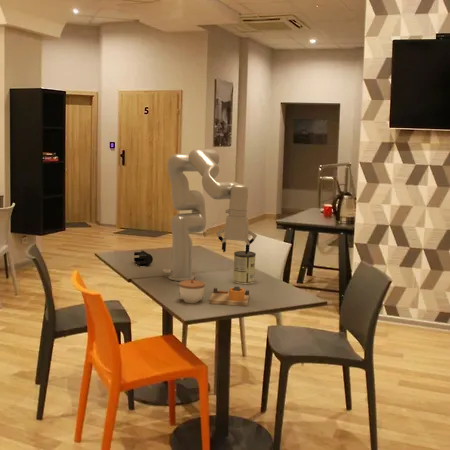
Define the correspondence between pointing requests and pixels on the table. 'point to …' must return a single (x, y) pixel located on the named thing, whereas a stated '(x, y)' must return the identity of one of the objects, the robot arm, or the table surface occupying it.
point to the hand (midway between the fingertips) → (235, 252)
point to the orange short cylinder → (236, 294)
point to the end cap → (143, 258)
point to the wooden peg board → (223, 298)
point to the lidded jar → (191, 290)
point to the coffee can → (244, 267)
